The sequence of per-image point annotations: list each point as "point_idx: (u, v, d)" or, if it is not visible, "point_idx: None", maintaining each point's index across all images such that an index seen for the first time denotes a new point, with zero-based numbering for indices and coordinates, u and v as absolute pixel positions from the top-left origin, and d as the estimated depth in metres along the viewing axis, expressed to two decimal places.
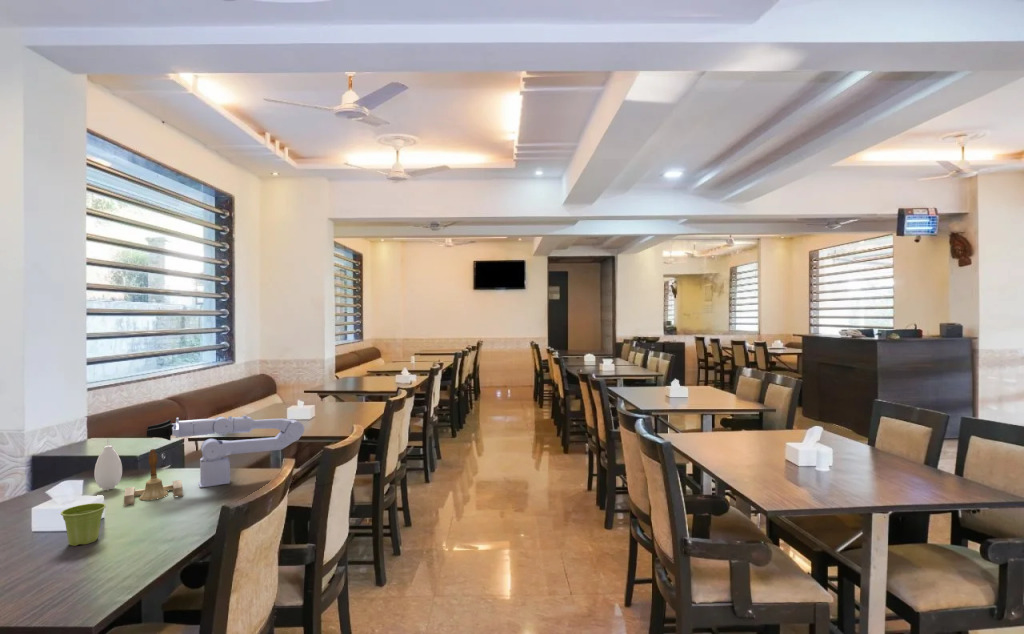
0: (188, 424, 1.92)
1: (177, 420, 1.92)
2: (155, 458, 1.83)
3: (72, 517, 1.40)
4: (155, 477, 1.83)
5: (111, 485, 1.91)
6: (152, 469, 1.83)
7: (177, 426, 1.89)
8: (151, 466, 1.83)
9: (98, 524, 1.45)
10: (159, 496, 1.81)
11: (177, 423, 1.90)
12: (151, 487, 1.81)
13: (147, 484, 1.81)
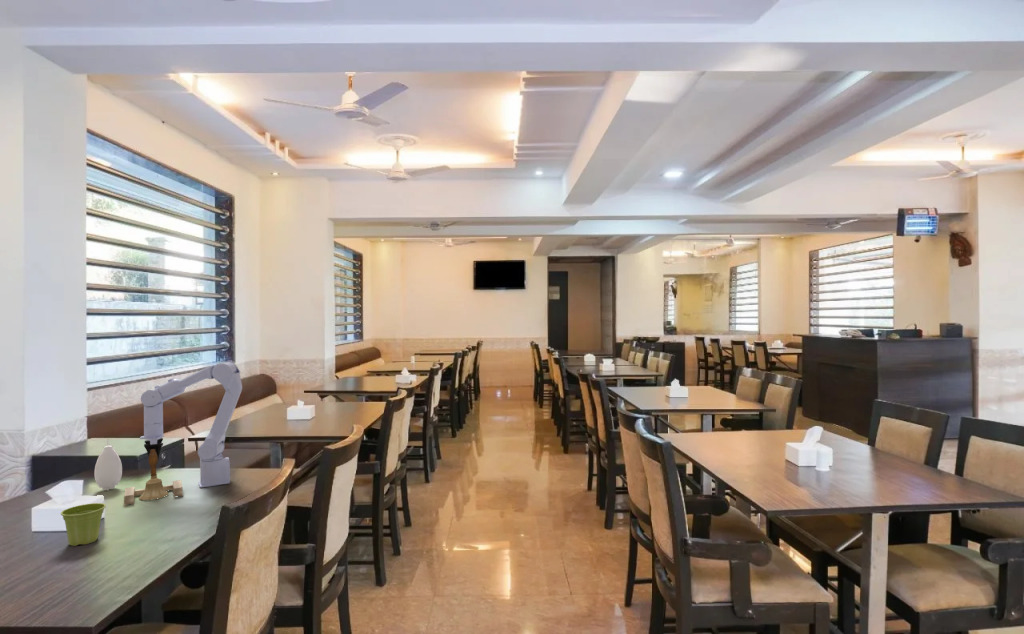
0: (147, 428, 1.91)
1: (142, 438, 1.92)
2: (155, 458, 1.83)
3: (72, 517, 1.40)
4: (155, 477, 1.83)
5: (111, 485, 1.91)
6: (152, 469, 1.83)
7: (148, 439, 1.90)
8: (151, 466, 1.83)
9: (98, 524, 1.45)
10: (159, 496, 1.81)
11: (145, 438, 1.91)
12: (151, 487, 1.81)
13: (147, 484, 1.81)
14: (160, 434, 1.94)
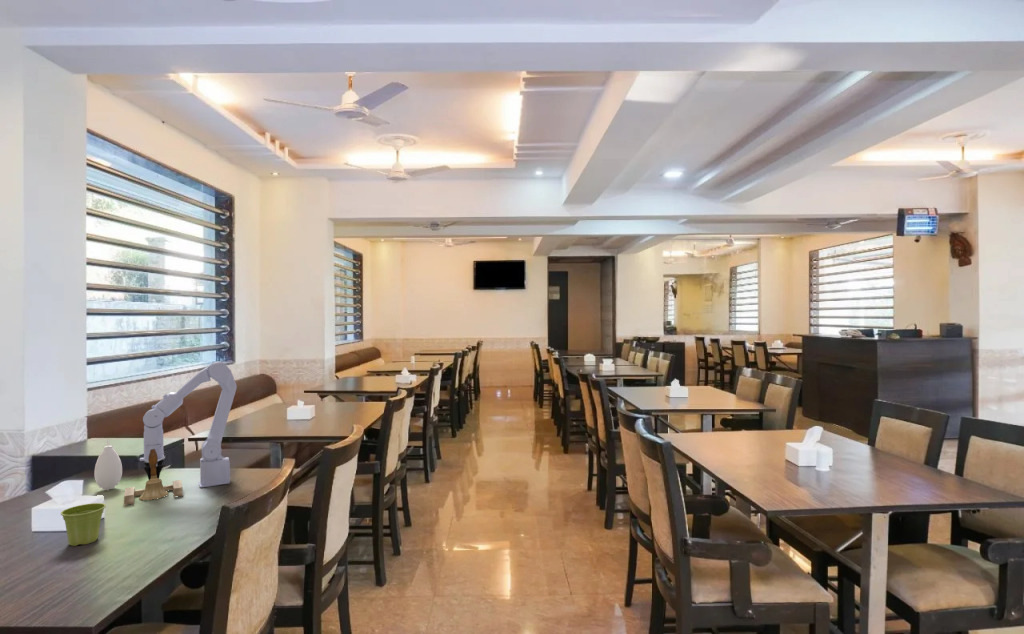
0: (147, 450, 1.86)
1: (142, 459, 1.87)
2: (155, 458, 1.83)
3: (72, 517, 1.40)
4: (155, 477, 1.83)
5: (111, 485, 1.91)
6: (152, 469, 1.83)
7: (147, 461, 1.85)
8: (151, 466, 1.83)
9: (98, 524, 1.45)
10: (159, 496, 1.81)
11: (145, 460, 1.86)
12: (151, 487, 1.81)
13: (147, 484, 1.81)
14: (160, 455, 1.89)
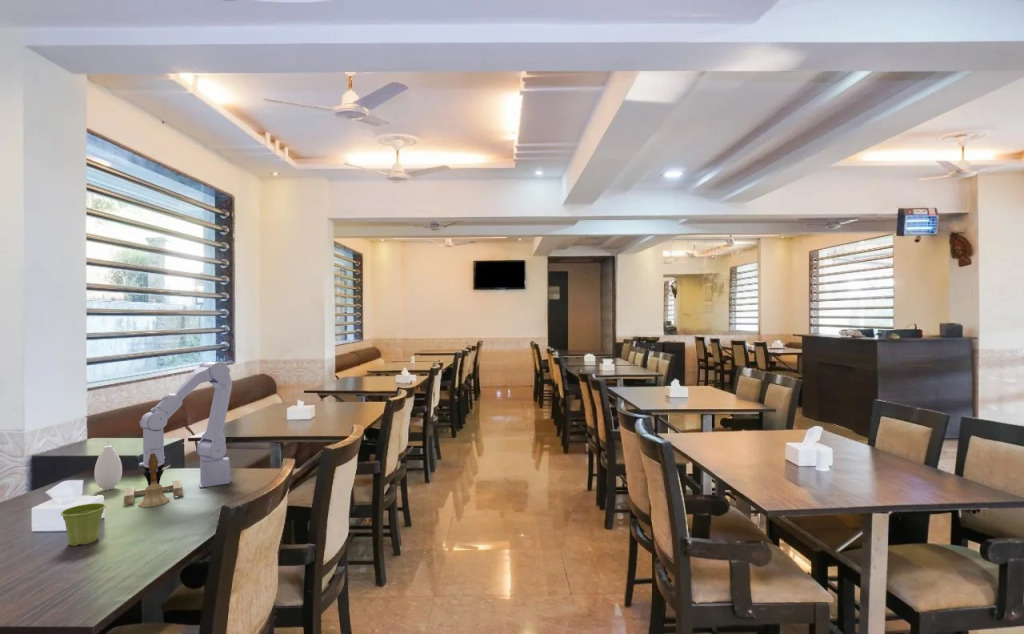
0: (147, 454, 1.79)
1: (142, 464, 1.79)
2: (155, 463, 1.76)
3: (72, 517, 1.40)
4: (155, 483, 1.76)
5: (111, 485, 1.91)
6: (152, 474, 1.76)
7: (147, 466, 1.77)
8: (151, 471, 1.75)
9: (98, 524, 1.45)
10: (160, 502, 1.74)
11: (145, 465, 1.79)
12: (151, 493, 1.74)
13: (147, 490, 1.74)
14: (160, 460, 1.81)
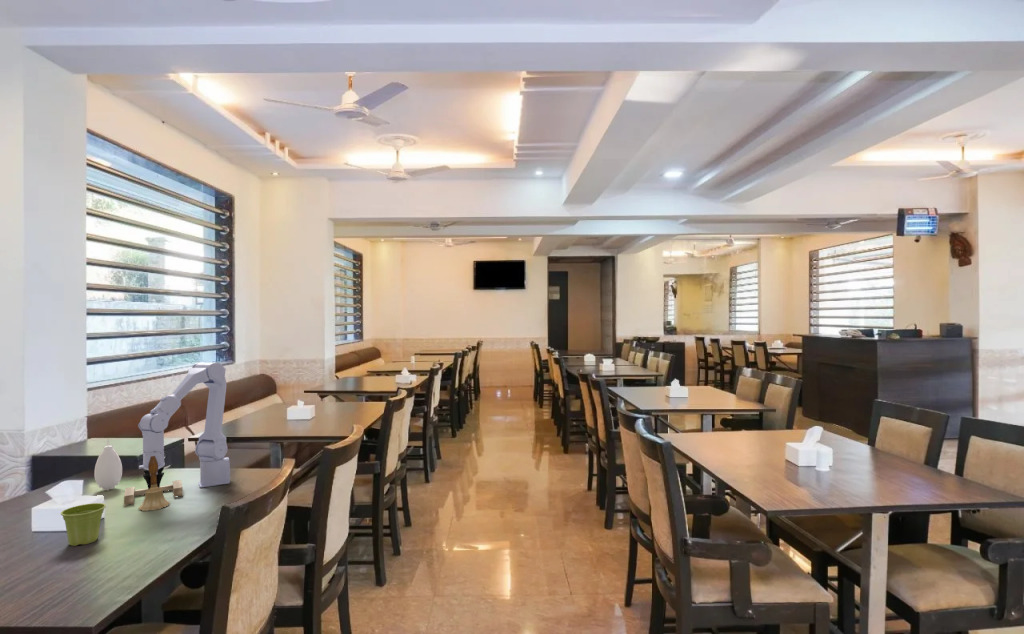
0: (147, 457, 1.75)
1: (141, 467, 1.76)
2: (155, 466, 1.72)
3: (72, 517, 1.40)
4: (155, 486, 1.72)
5: (111, 485, 1.91)
6: (152, 477, 1.72)
7: (147, 469, 1.74)
8: (151, 474, 1.72)
9: (98, 524, 1.45)
10: (160, 506, 1.70)
11: (144, 468, 1.75)
12: (151, 496, 1.70)
13: (147, 493, 1.70)
14: (161, 463, 1.78)
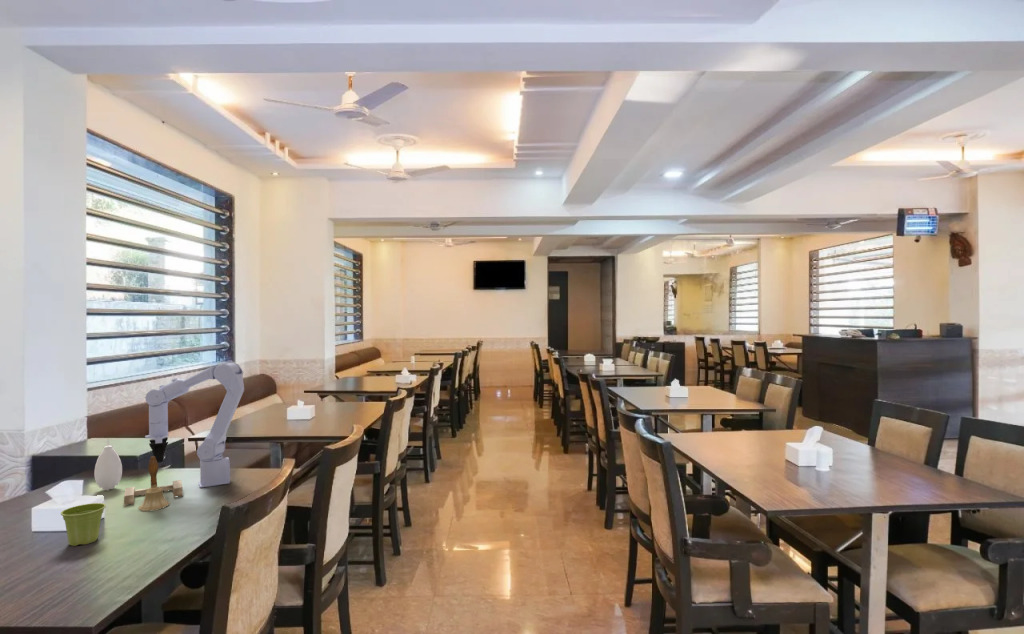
0: (152, 427, 1.93)
1: (147, 437, 1.93)
2: (155, 466, 1.72)
3: (72, 517, 1.40)
4: (155, 486, 1.72)
5: (111, 485, 1.91)
6: (152, 477, 1.72)
7: (153, 438, 1.91)
8: (151, 474, 1.72)
9: (98, 524, 1.45)
10: (160, 506, 1.70)
11: (150, 437, 1.93)
12: (151, 497, 1.70)
13: (147, 494, 1.70)
14: (165, 433, 1.95)
